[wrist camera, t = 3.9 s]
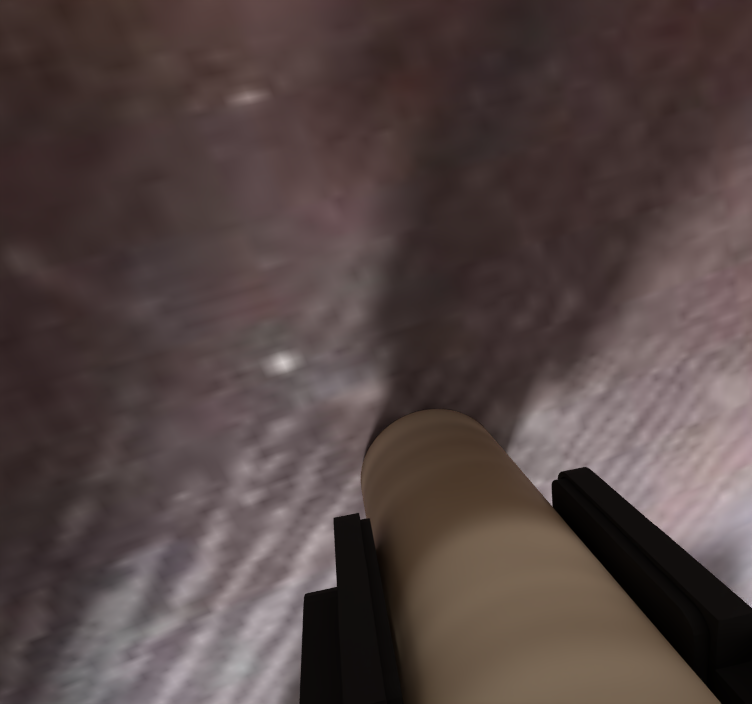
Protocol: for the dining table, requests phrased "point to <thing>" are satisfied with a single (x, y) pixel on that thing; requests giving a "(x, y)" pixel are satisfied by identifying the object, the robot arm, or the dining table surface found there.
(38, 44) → the dining table surface
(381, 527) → the maple peg
